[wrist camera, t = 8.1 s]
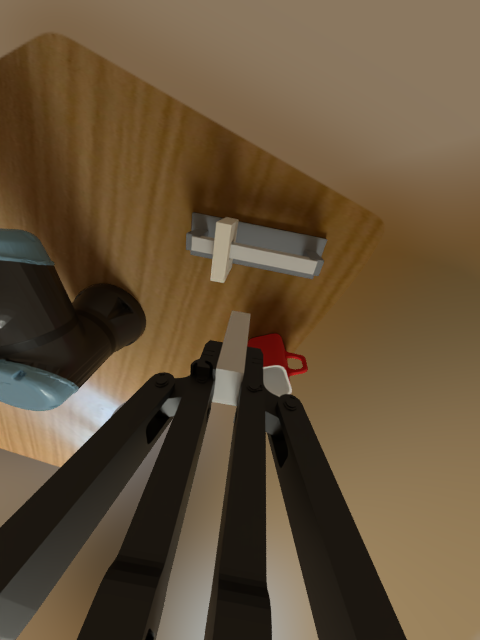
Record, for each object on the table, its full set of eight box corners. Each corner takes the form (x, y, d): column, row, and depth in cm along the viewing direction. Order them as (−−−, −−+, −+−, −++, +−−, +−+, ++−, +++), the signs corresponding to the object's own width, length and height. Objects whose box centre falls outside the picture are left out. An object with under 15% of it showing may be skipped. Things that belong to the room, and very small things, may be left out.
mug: (255, 364, 52) (253, 400, 43) (244, 338, 48) (239, 371, 39) (304, 355, 49) (313, 392, 39) (297, 326, 45) (305, 359, 36)
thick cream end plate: (220, 265, 38) (210, 280, 31) (226, 216, 34) (216, 222, 27) (231, 267, 38) (223, 283, 31) (238, 219, 34) (231, 225, 27)
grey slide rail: (191, 253, 39) (178, 263, 33) (193, 212, 36) (178, 215, 30) (311, 277, 39) (320, 292, 33) (326, 238, 36) (338, 247, 30)
